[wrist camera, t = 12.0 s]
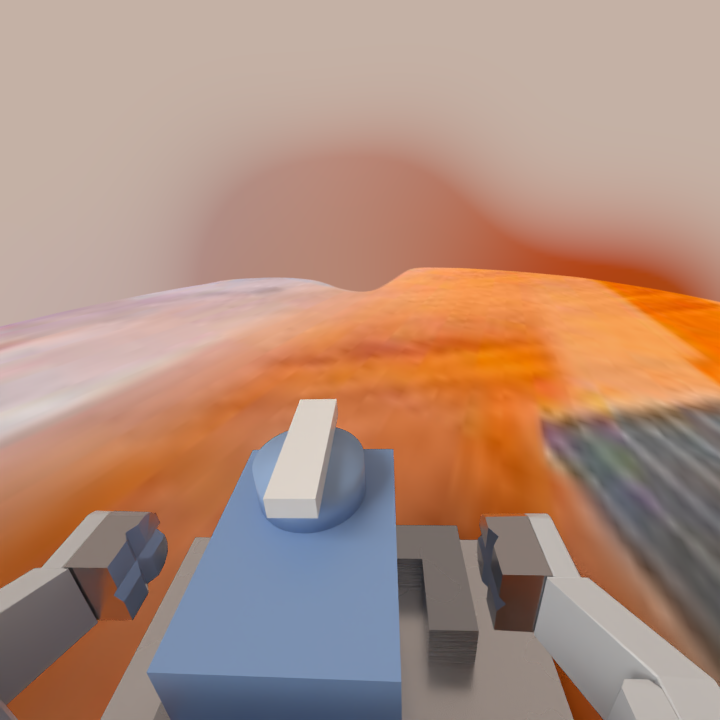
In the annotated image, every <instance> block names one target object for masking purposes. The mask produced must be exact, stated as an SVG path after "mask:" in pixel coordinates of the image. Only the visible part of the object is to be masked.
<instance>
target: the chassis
mask: <svg viewBox="0 0 720 720" xmlns="http://www.w3.org/2000/svg"><path fill="white" fill-rule="evenodd" d="M210 539H211V538H202V537H195V539H194V541H193V543H192V545H191V547H190V549H189V551H188V553H187V555H186V557H185V558H184V560H183V562H182V564H181V566H180V568H179V570H178V572H177V574H176V576H175V578H174V580H173V581H172V583H171V585H170V587H169V589H168V591H167V593H166V595H165V597H164V599H163V601H162V603H161V604H160V606H159V608H158V610H157V612H156V614H155V616H154V618H153V620H152V622H151V624H150V625H149V627H148V629H147V631H146V633H145V635H144V637H143V639H142V641H141V643H140V645H139V647H138V648H137V650H136V652H135V654H134V656H133V658H132V660H131V662H130V664H129V666H128V668H127V670H126V671H125V673H124V675H123V677H122V679H121V681H120V683H119V685H118V687H117V689H116V691H115V692H114V694H113V696H112V698H111V700H110V702H109V704H108V706H107V708H106V710H105V712H104V714H103V715H102V717H101V719H100V720H170V718H169V716H168V714H167V712H166V710H165V708H164V706H163V704H162V702H161V700H160V698H159V696H158V694H157V692H156V690H155V688H154V686H153V684H152V683H151V681H150V679H149V677H148V675H147V673H146V672H147V670H148V668H149V666H150V664H151V662H152V660H153V658H154V655H155V653H156V651H157V649H158V647H159V645H160V643H161V641H162V639H163V637H164V635H165V633H166V630H167V628H168V626H169V624H170V622H171V620H172V618H173V616H174V614H175V612H176V610H177V608H178V605H179V603H180V601H181V599H182V597H183V595H184V593H185V591H186V589H187V587H188V585H189V583H190V580H191V578H192V576H193V574H194V572H195V570H196V568H197V566H198V564H199V562H200V560H201V558H202V555H203V553H204V551H205V549H206V547H207V545H208V543H209V541H210ZM477 543H478V540H460V539H459V534H458V529H457V526H437V525H396V544H397V573H398V601H399V630H400V659H401V699H402V720H574V719H573V716H572V713H571V710H570V708H569V705H568V702H567V699H566V696H565V693H564V691H563V688H562V685H561V682H560V679H559V676H558V673H557V671H556V668H555V665H554V662H553V659H552V656H551V655H550V654H549V653H548V651H547V650H546V649H545V648H544V646H543V645H542V644H541V643H540V642H539V640H538V639H537V638H536V637H535V636H534V632H518V631H501V630H494V628H493V624H492V620H491V616H490V612H489V608H488V604H487V601H486V599H487V590H488V587H487V586H486V585H485V584H484V583H483V582H482V580H481V576H480V571H479V566H478V557H477Z"/></svg>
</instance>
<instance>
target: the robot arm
mask: <svg viewBox="0 0 720 720" xmlns="http://www.w3.org/2000/svg"><path fill="white" fill-rule="evenodd" d="M159 524H160V521H159V519H158V517H157V514H156V513H152V512H130V511H94V512H93V513H91V514H89V515H88V516H87V517H86V518H85V519H84V520H83V521H82V522H81V523H80V525H79V526H78V527H77V528H76V529H75V530H74V531H73V532H72V534H71V535H70V536H69V537H68V538H67V539H66V540H65V541H64V543H63V544H62V545H61V546H60V547H59V548H58V549H57V550H56V552H55V553H54V554H53V555H52V556H51V557H50V558H49V559H48V561H47V562H46V563H45V564H44V565H43V566H42V567H41V568H34V569H32V570H31V571H29V572H27V573H26V574H24V575H22V576H21V577H19V578H17V579H16V580H14V581H13V582H11V583H9V584H8V585H6V586H4V587H3V588H1V589H0V720H18V719H17V718H16V717H15V716H14V714H13V713H12V712H11V711H10V710H9V708H8V707H7V706H6V705H7V704H8V703H9V702H10V701H11V700H13V699H14V698H15V697H16V696H17V695H18V694H19V693H20V692H21V691H23V690H24V689H25V688H26V687H27V686H28V685H29V684H30V683H31V682H32V681H34V680H35V679H36V678H37V677H38V676H39V675H40V674H41V673H42V672H44V671H45V670H46V669H47V668H48V667H49V666H50V665H51V664H52V663H54V662H55V661H56V660H57V659H58V658H59V657H60V656H61V655H62V654H64V653H65V652H66V651H67V650H68V649H69V648H70V647H71V646H72V645H74V644H75V643H76V642H77V641H78V640H79V639H80V638H81V637H82V636H84V635H85V634H86V633H87V632H88V631H89V630H90V629H91V628H92V627H93V626H95V625H96V624H97V623H98V621H97V620H133V619H134V617H135V615H136V613H137V612H138V610H139V608H140V607H141V605H142V603H143V601H144V600H145V598H146V596H147V594H148V593H149V592H148V583H149V582H150V581H151V580H153V579H154V578H155V577H157V576H158V575H159V573H160V571H161V569H162V568H163V566H164V564H165V560H166V556H167V552H168V546H167V540H166V537H165V535H164V534H163V533H161V532H160V531H159V530H158V529H157V527H158V525H159ZM479 526H480V530H481V533H482V535H481V536H480V537H479V538H478V543H477V557H478V566H479V571H480V576H481V580H482V582H483V583H484V584H485V585H486V586H487V587H488V590H487V599H486V601H487V604H488V608H489V612H490V616H491V620H492V624H493V628H494V630H501V631H518V632H534V636H535V637H536V638H537V639H538V640H539V642H540V643H541V644H542V645H543V646H544V648H545V649H546V650H547V651H548V653H549V654H550V655H551V656H552V657H553V659H554V660H555V661H556V662H557V664H558V665H559V666H560V667H561V668H562V670H563V671H564V672H565V673H566V675H567V676H568V677H569V678H570V679H571V681H572V682H573V683H574V684H575V685H576V687H577V688H578V689H579V690H580V692H581V693H582V694H583V695H584V696H585V698H586V699H587V700H588V701H589V703H590V704H591V705H592V706H593V707H594V709H595V710H596V711H597V712H598V714H599V715H600V716H601V717H602V718H603V720H720V687H719V686H718V684H717V683H716V681H715V680H714V679H713V678H711V677H710V676H709V675H708V674H706V673H705V672H704V671H703V670H702V669H700V668H699V667H698V666H697V665H695V664H694V663H693V662H692V661H690V660H689V659H688V658H687V657H685V656H684V655H683V654H682V653H681V652H679V651H678V650H677V649H676V648H674V647H673V646H672V645H671V644H669V643H668V642H667V641H666V640H665V639H663V638H662V637H661V636H660V635H658V634H657V633H656V632H655V631H653V630H652V629H651V628H650V627H648V626H647V625H646V624H645V623H644V622H642V621H641V620H640V619H639V618H637V617H636V616H635V615H634V614H632V613H631V612H630V611H629V610H628V609H626V608H625V607H624V606H623V605H621V604H620V603H619V602H618V601H616V600H615V599H614V598H613V597H611V596H610V595H609V594H608V593H607V592H605V591H604V590H603V589H602V588H600V587H599V586H598V585H597V584H595V583H594V582H593V581H592V580H591V579H589V578H585V577H581V576H580V574H579V572H578V570H577V568H576V566H575V564H574V562H573V560H572V558H571V556H570V554H569V552H568V550H567V548H566V546H565V544H564V542H563V540H562V538H561V536H560V534H559V532H558V530H557V528H556V526H555V524H554V522H553V520H552V519H551V517H550V516H549V515H548V514H523V513H502V514H482V515H481V517H480V524H479Z"/></svg>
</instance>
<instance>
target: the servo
mask: <svg viewBox="0 0 720 720" xmlns="http://www.w3.org/2000/svg"><path fill="white" fill-rule="evenodd" d="M337 417H338V409H337V399H306V400H300V402H299V404H298V407H297V410H296V412H295V415H294V418H293V420H292V423H291V426H290V428H289V431H286V432H284V433H281V434H279V435H277V436H276V437H274V438H272V439H271V440H270V441H268V442H267V443H266V444H265V445H264V446H263V447H262V448H261V449H260V450H253V451H252V453H251V455H250V458H249V460H248V462H247V464H246V466H245V468H244V470H243V472H242V474H241V476H240V478H239V480H238V483H237V485H236V487H235V489H234V491H233V493H232V495H231V497H230V499H229V501H228V503H227V505H226V508H225V510H224V512H223V514H222V516H221V518H220V520H219V522H218V524H217V526H216V528H215V530H214V533H213V535H212V537H211V539H210V541H209V543H208V545H207V547H206V549H205V551H204V553H203V555H202V558H201V560H200V562H199V564H198V566H197V568H196V570H195V572H194V574H193V576H192V578H191V580H190V583H189V585H188V587H187V589H186V591H185V593H184V595H183V597H182V599H181V601H180V603H179V605H178V608H177V610H176V612H175V614H174V616H173V618H172V620H171V622H170V624H169V626H168V628H167V630H166V633H165V635H164V637H163V639H162V641H161V643H160V645H159V647H158V649H157V651H156V653H155V655H154V658H153V660H152V662H151V664H150V666H149V668H148V670H147V672H146V673H147V675H148V677H149V679H150V681H151V683H152V684H153V686H154V688H155V690H156V692H157V694H158V696H159V698H160V700H161V702H162V704H163V706H164V708H165V710H166V712H167V714H168V716H169V718H170V720H402V699H401V659H400V630H399V601H398V573H397V544H396V515H395V486H394V457H393V449H363V447H362V445H361V443H360V442H359V440H358V439H357V438H356V437H355V436H353V435H352V434H351V433H349V432H347V431H345V430H343V429H340V428H336V423H337Z"/></svg>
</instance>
